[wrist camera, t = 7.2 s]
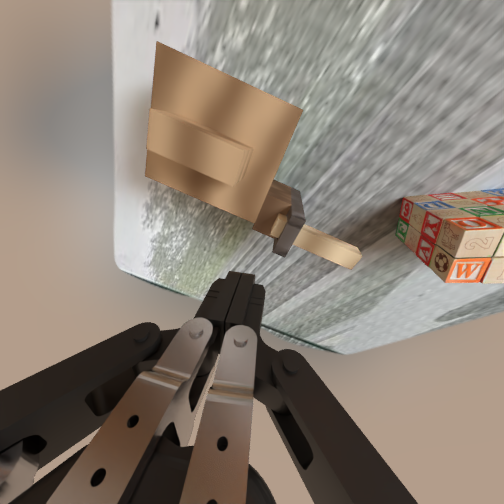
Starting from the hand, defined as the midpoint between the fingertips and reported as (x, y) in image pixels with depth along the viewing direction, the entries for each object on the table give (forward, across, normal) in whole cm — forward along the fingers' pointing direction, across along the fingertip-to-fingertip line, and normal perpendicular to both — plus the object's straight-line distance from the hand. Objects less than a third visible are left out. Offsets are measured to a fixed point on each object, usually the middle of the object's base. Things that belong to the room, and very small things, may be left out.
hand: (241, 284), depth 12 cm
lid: (+16, +6, -6) cm, 18 cm away
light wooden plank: (+13, -6, +2) cm, 15 cm away
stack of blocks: (+24, -30, 0) cm, 38 cm away
